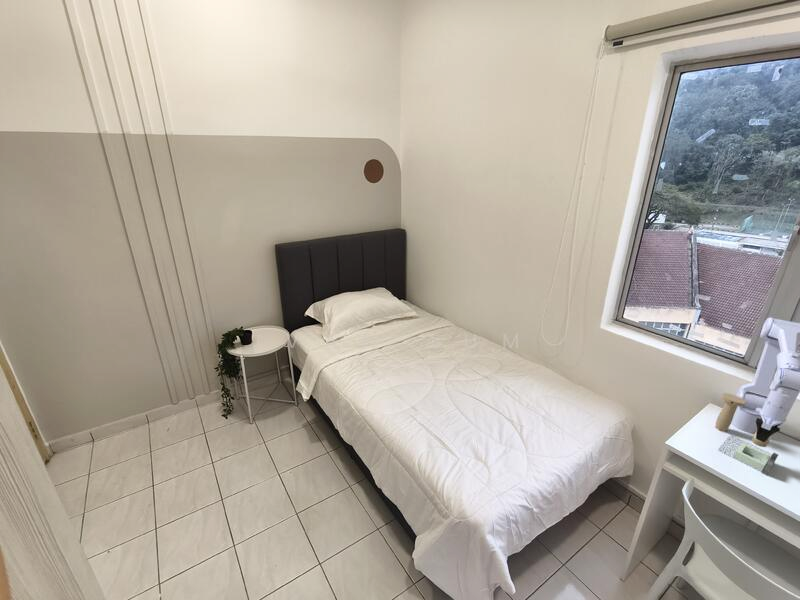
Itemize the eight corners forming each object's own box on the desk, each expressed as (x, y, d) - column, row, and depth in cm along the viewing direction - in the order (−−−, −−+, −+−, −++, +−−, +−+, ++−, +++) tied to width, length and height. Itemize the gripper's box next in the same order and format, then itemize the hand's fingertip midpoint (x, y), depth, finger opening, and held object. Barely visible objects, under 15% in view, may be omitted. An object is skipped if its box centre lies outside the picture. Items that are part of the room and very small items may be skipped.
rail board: (729, 436, 136) (734, 425, 134) (776, 458, 126) (782, 447, 125) (716, 452, 129) (721, 441, 127) (765, 477, 119) (771, 466, 117)
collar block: (740, 447, 130) (742, 442, 129) (767, 461, 124) (770, 455, 123) (733, 456, 126) (735, 451, 125) (761, 471, 120) (764, 465, 119)
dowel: (767, 443, 122) (776, 427, 119) (765, 448, 120) (773, 431, 117) (753, 437, 124) (761, 421, 122) (750, 442, 122) (758, 425, 120)
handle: (729, 438, 135) (744, 405, 129) (707, 429, 139) (721, 396, 134) (731, 432, 138) (746, 399, 132) (710, 423, 143) (724, 391, 137)
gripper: (767, 389, 123) (751, 421, 128) (756, 405, 115) (740, 439, 120) (796, 400, 118) (779, 433, 123) (787, 418, 110) (769, 452, 115)
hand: (761, 437), depth 121 cm, fingers closed on dowel, 4 cm apart
